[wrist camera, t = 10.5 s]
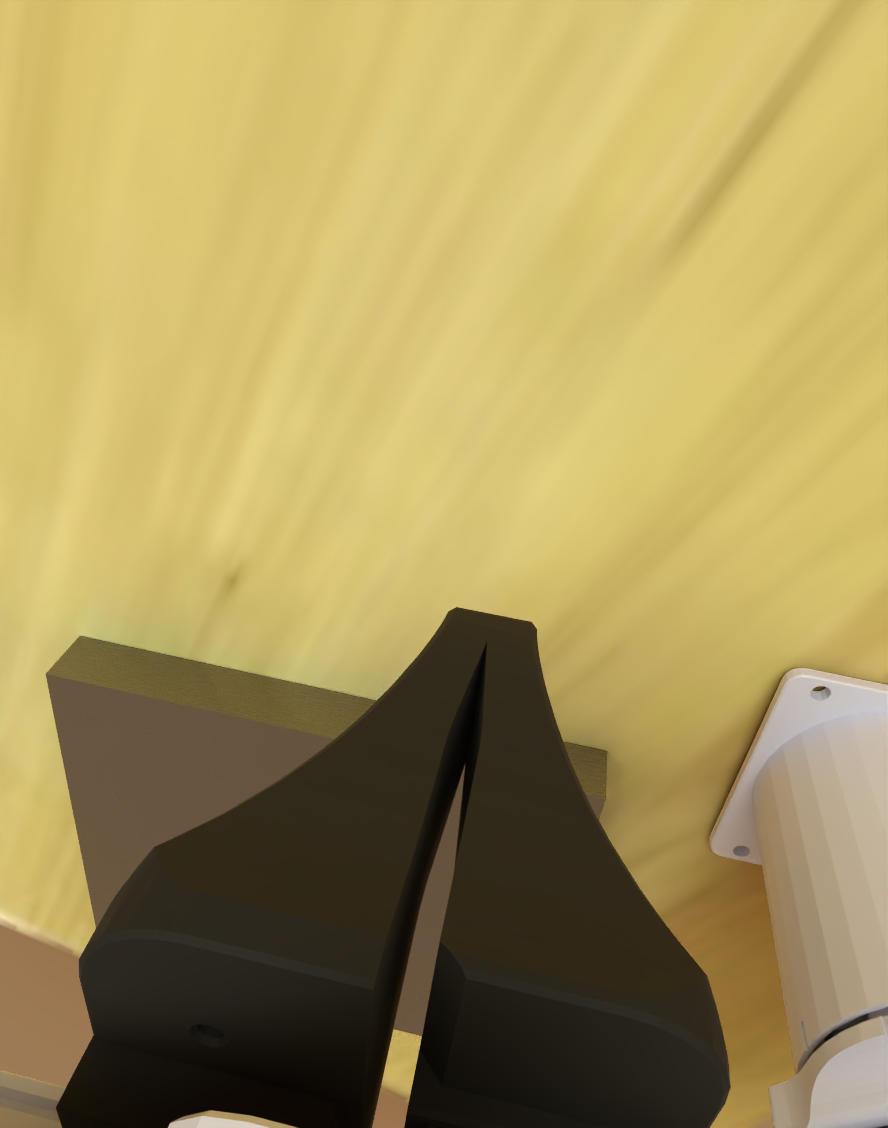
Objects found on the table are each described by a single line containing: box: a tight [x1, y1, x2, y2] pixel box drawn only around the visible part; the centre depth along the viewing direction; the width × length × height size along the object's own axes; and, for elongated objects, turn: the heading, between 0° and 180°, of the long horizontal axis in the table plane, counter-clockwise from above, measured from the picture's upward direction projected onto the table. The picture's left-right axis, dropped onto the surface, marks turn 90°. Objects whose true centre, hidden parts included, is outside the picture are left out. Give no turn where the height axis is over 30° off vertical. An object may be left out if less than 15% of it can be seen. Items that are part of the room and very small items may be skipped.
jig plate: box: [46, 636, 607, 1036], centre depth 31 cm, size 18×16×2 cm
